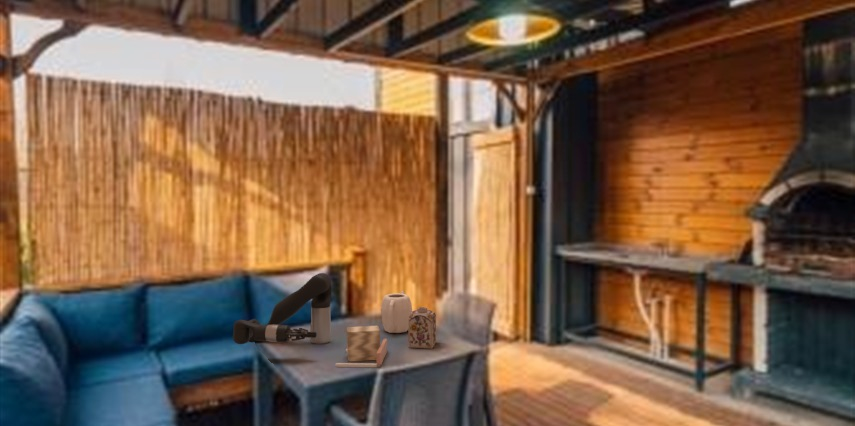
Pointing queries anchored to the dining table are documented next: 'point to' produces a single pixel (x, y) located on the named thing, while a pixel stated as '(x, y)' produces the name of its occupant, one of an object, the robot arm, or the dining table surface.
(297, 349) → the dining table surface
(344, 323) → the dining table surface
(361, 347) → the wooden block
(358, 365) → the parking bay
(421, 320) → the decorative jar
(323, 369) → the dining table surface
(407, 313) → the beige pitcher
